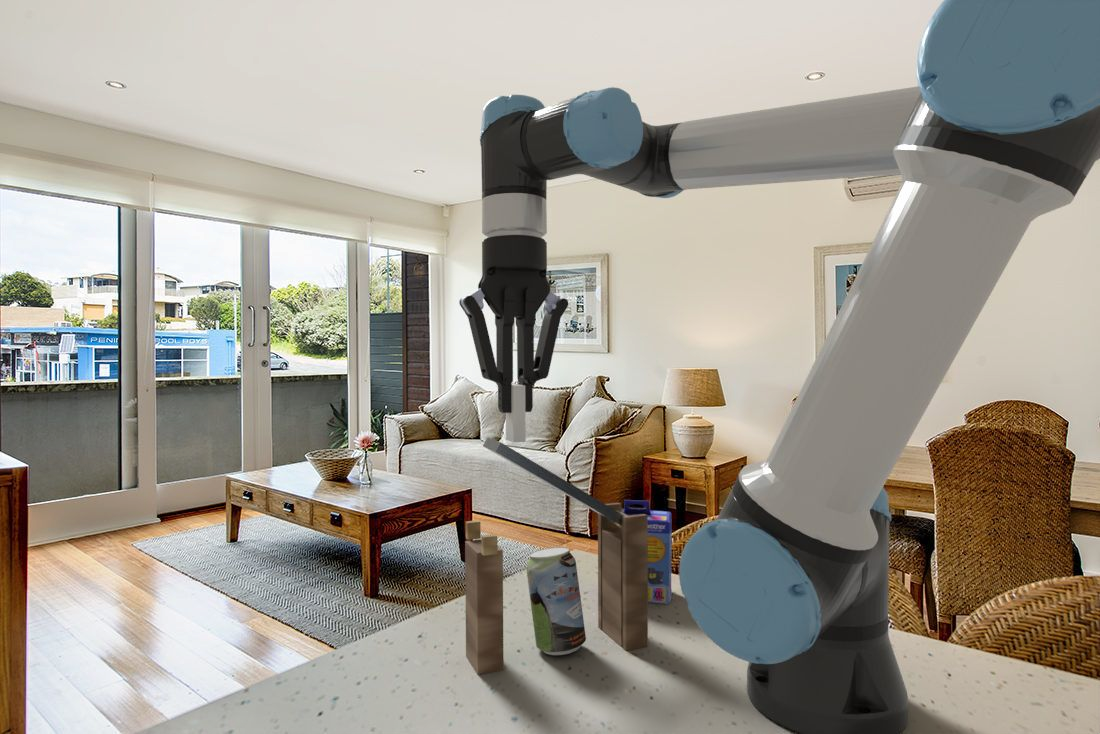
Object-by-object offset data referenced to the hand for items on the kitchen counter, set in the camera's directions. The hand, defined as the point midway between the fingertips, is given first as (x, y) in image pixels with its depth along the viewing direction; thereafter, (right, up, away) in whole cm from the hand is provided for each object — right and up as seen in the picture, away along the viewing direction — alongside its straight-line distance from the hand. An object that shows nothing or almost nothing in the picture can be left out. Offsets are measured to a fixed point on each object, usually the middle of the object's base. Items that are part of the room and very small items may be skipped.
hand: (515, 440), depth 77 cm
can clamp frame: (+5, -25, +2) cm, 26 cm away
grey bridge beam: (+5, -7, +2) cm, 9 cm away
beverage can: (+5, -26, +2) cm, 26 cm away
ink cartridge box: (+17, -25, +20) cm, 36 cm away
